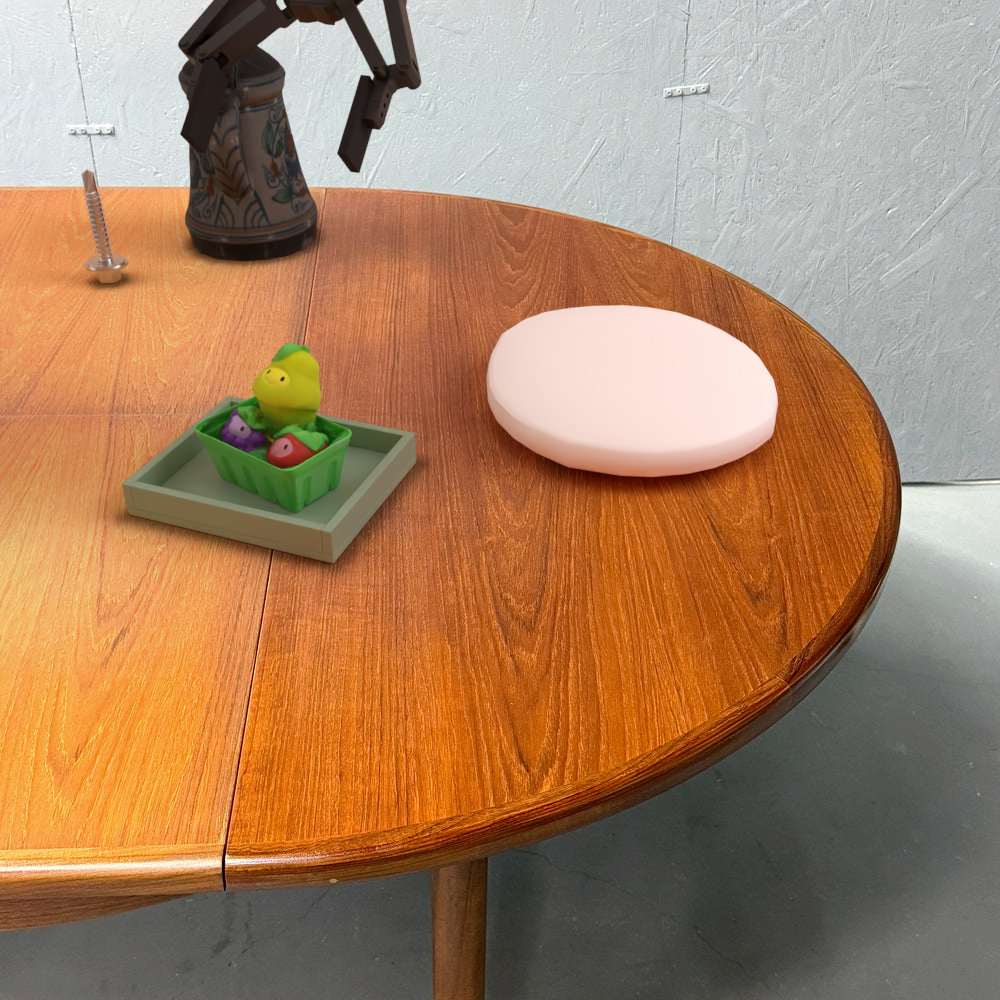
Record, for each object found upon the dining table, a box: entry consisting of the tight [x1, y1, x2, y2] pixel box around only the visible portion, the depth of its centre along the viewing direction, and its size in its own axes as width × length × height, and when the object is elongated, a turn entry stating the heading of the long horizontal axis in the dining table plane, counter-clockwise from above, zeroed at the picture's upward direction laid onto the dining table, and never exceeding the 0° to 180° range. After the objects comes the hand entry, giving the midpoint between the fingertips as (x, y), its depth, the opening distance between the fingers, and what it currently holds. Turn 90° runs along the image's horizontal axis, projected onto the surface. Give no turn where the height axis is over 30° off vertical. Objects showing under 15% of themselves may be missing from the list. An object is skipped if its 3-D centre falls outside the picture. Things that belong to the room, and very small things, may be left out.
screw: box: [81, 169, 129, 284], centre depth 123 cm, size 13×5×5 cm
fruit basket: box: [194, 342, 352, 513], centre depth 87 cm, size 11×9×11 cm
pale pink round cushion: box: [485, 304, 779, 478], centre depth 100 cm, size 28×6×27 cm
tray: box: [121, 395, 417, 565], centre depth 90 cm, size 19×16×3 cm
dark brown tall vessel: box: [177, 45, 319, 262], centre depth 130 cm, size 16×19×25 cm
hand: (268, 154), depth 83 cm, fingers open, 13 cm apart
